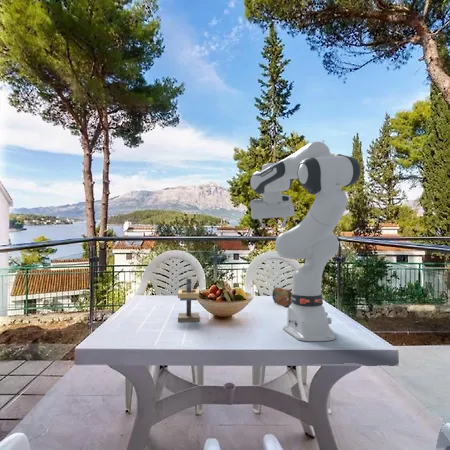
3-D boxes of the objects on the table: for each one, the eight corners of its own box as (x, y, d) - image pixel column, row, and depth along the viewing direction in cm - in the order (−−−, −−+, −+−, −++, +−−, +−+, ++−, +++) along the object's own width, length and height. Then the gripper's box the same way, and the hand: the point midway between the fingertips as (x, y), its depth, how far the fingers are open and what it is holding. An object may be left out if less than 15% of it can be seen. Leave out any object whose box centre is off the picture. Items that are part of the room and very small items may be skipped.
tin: (271, 302, 200) (271, 286, 200) (276, 301, 202) (277, 285, 202) (288, 308, 187) (288, 291, 187) (293, 307, 188) (293, 290, 188)
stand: (199, 321, 163) (199, 280, 162) (177, 321, 162) (177, 280, 162) (199, 315, 172) (199, 277, 171) (178, 316, 171) (178, 277, 171)
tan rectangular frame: (199, 297, 163) (199, 293, 163) (177, 298, 162) (177, 293, 162) (199, 291, 177) (199, 287, 177) (179, 291, 176) (179, 287, 176)
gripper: (250, 200, 175) (251, 229, 177) (294, 196, 175) (295, 226, 177) (249, 199, 181) (250, 227, 183) (292, 195, 181) (293, 224, 183)
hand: (273, 227), depth 180 cm, fingers open, 8 cm apart
